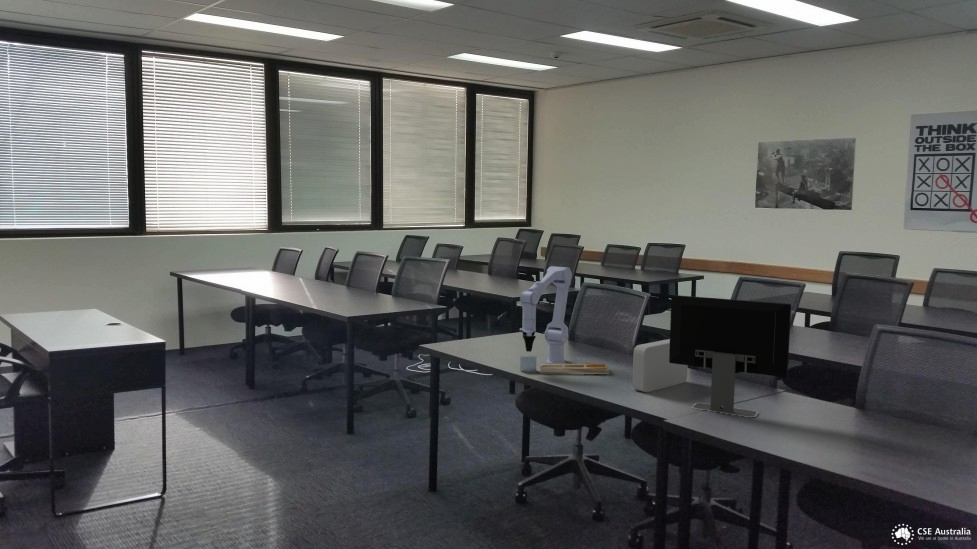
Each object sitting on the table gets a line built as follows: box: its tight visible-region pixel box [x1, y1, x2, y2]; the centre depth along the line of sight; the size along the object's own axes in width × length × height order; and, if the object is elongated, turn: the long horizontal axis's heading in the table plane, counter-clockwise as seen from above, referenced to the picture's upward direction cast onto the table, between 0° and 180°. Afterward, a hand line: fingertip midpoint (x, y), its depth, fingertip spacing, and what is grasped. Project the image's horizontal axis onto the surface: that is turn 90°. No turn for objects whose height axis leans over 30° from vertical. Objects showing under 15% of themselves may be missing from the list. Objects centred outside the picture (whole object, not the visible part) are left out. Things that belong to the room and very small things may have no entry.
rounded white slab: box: [632, 338, 689, 393], centre depth 295 cm, size 29×8×18 cm, turn 129°
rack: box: [539, 362, 610, 375], centre depth 318 cm, size 9×29×3 cm, turn 88°
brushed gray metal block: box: [519, 355, 537, 373], centre depth 319 cm, size 2×7×6 cm, turn 87°
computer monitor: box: [669, 294, 792, 418], centre depth 260 cm, size 41×8×40 cm, turn 59°
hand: (528, 349), depth 318 cm, fingers open, 7 cm apart
